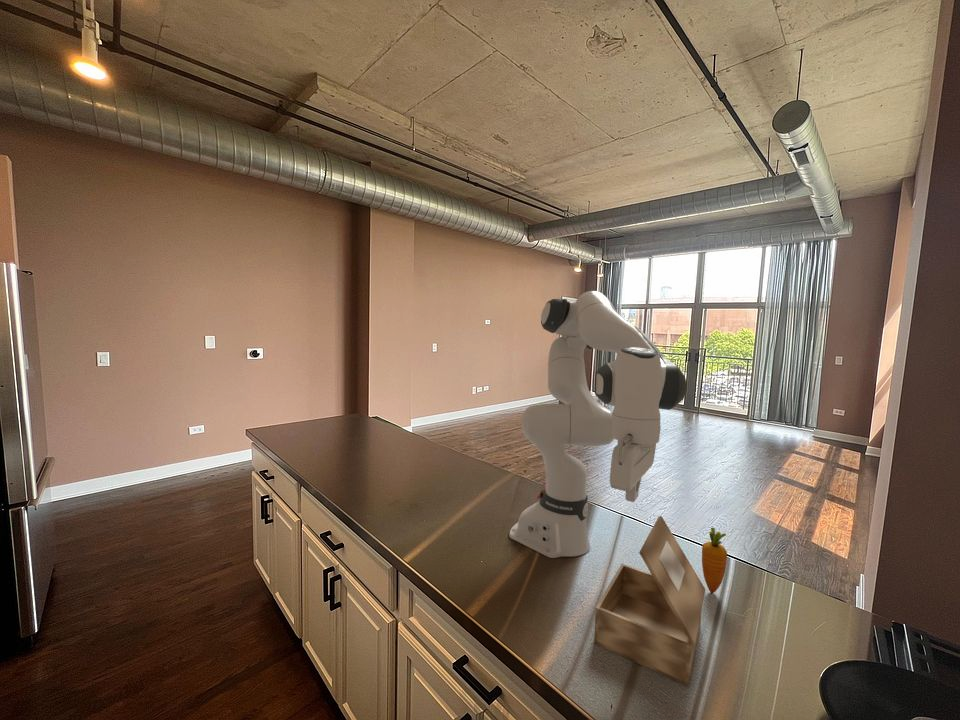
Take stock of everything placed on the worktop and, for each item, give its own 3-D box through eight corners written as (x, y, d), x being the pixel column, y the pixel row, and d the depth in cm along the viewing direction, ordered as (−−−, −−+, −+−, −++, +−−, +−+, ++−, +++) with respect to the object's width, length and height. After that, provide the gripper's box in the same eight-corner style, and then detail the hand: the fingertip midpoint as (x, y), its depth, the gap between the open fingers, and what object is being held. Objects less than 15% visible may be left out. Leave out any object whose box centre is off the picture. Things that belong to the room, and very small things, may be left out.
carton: (593, 643, 75) (595, 607, 75) (620, 593, 90) (621, 563, 90) (688, 687, 66) (691, 646, 66) (700, 624, 81) (702, 590, 81)
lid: (639, 552, 70) (642, 551, 70) (658, 516, 85) (661, 515, 84) (691, 644, 66) (695, 643, 66) (702, 590, 80) (706, 589, 80)
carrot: (701, 583, 95) (705, 522, 94) (726, 592, 92) (730, 528, 91) (697, 593, 91) (701, 529, 90) (722, 603, 88) (726, 537, 87)
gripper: (639, 443, 68) (635, 522, 69) (662, 424, 85) (659, 488, 85) (602, 437, 71) (599, 512, 72) (631, 420, 88) (628, 481, 89)
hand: (631, 499), depth 79 cm, fingers closed
